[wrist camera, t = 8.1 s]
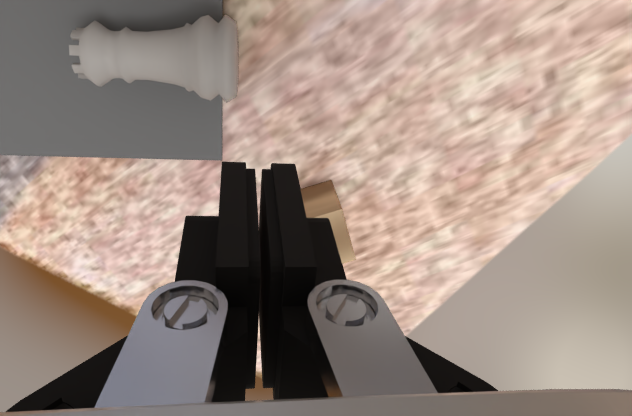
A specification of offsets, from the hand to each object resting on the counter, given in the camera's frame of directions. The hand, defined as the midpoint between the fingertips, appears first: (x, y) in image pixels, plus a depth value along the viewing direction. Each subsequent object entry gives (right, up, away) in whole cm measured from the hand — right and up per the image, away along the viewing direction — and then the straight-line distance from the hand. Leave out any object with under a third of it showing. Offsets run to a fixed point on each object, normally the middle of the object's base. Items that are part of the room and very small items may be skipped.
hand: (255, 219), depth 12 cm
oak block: (+1, 0, +23) cm, 23 cm away
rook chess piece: (-3, +8, +15) cm, 17 cm away
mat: (-11, +10, +16) cm, 21 cm away
